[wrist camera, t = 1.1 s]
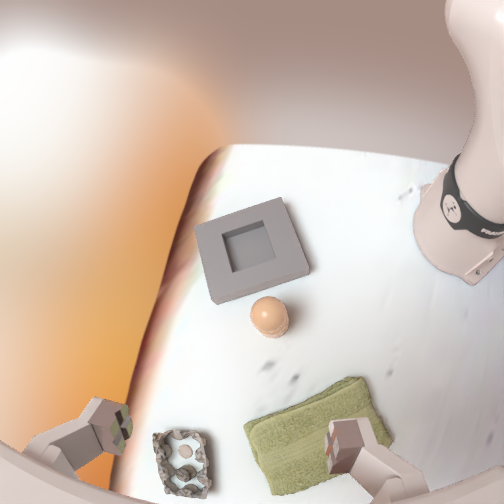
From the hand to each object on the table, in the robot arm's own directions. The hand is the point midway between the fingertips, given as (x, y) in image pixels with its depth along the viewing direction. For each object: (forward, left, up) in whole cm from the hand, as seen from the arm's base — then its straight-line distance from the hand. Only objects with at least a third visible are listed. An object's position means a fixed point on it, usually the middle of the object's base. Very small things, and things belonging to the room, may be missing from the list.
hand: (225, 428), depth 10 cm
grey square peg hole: (-2, -20, -30) cm, 36 cm away
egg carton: (+16, +8, -31) cm, 35 cm away
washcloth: (-3, +9, -31) cm, 32 cm away
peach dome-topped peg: (-2, -9, -30) cm, 32 cm away
